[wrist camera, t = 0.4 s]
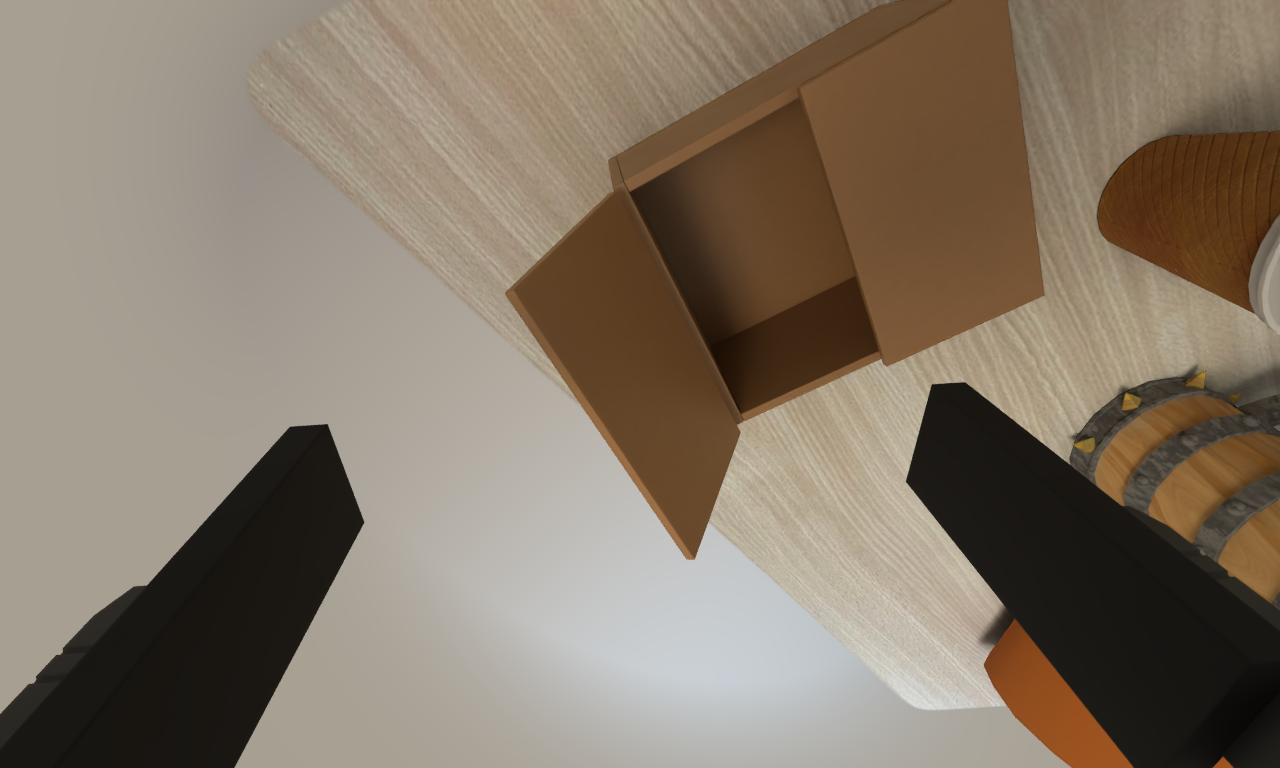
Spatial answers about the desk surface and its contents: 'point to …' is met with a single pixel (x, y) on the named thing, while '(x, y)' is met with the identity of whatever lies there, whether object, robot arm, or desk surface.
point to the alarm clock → (1051, 704)
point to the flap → (632, 366)
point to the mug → (1195, 470)
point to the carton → (844, 202)
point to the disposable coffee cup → (1204, 214)
